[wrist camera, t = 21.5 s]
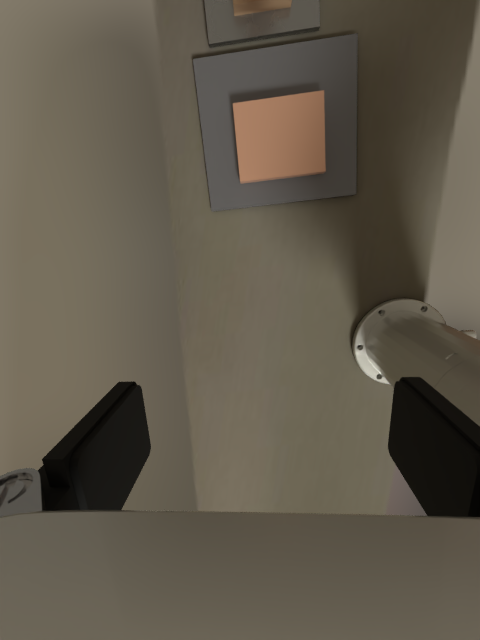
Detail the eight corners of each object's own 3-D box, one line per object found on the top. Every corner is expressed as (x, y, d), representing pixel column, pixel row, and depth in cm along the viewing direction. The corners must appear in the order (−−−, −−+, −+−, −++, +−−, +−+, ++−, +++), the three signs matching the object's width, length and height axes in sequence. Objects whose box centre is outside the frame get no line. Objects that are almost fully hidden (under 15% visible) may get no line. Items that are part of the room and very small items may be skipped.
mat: (356, 35, 30) (357, 33, 30) (355, 194, 35) (356, 194, 34) (193, 61, 32) (192, 59, 31) (212, 211, 36) (211, 211, 36)
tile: (322, 174, 34) (320, 96, 32) (325, 171, 33) (324, 90, 30) (240, 184, 35) (233, 108, 32) (240, 181, 33) (232, 103, 31)
